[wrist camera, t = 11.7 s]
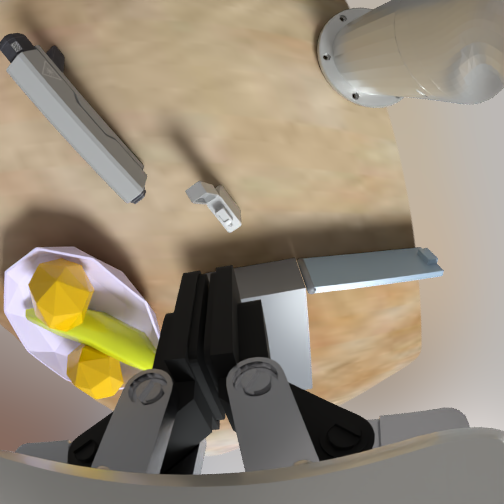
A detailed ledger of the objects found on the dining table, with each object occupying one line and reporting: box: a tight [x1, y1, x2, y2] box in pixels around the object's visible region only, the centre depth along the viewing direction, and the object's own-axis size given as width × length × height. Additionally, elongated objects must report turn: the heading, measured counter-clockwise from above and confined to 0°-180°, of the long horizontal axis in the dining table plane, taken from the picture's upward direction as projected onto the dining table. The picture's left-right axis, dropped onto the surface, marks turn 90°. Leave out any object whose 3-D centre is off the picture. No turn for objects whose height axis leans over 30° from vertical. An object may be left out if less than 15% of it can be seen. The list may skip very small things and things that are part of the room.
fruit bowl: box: [4, 247, 160, 399], centre depth 39 cm, size 28×27×11 cm
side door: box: [297, 247, 444, 294], centre depth 38 cm, size 2×19×7 cm, turn 94°
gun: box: [0, 33, 147, 204], centre depth 27 cm, size 2×25×10 cm, turn 33°
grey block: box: [205, 258, 312, 390], centre depth 43 cm, size 12×21×8 cm, turn 9°
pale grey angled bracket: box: [185, 181, 241, 233], centre depth 33 cm, size 7×2×8 cm, turn 34°
